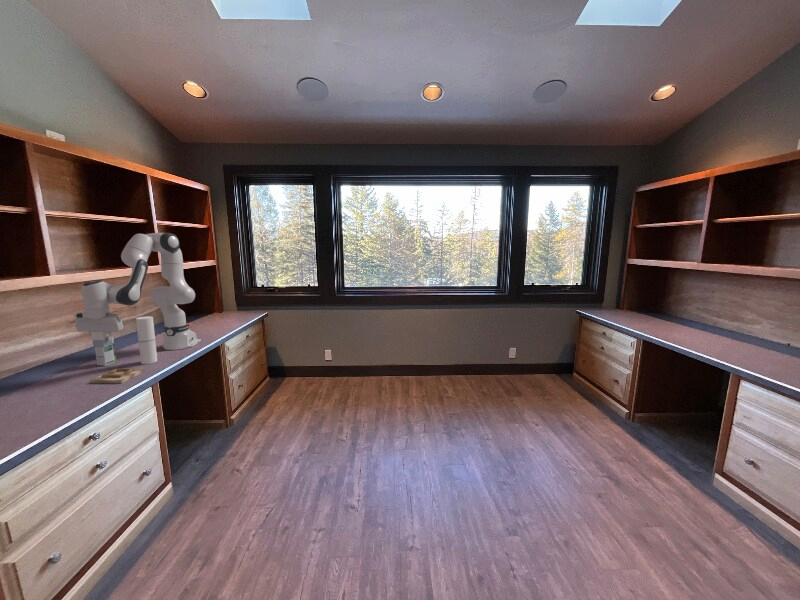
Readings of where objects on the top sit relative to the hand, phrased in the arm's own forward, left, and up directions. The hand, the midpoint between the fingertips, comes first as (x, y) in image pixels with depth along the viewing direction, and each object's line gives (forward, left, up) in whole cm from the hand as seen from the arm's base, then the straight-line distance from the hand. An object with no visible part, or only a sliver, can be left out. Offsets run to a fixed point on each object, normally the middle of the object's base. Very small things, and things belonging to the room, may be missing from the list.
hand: (102, 339), depth 157 cm
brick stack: (0, 0, -3) cm, 3 cm away
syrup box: (-10, -8, -17) cm, 21 cm away
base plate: (+8, +13, -16) cm, 22 cm away
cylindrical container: (-13, +12, -17) cm, 24 cm away
